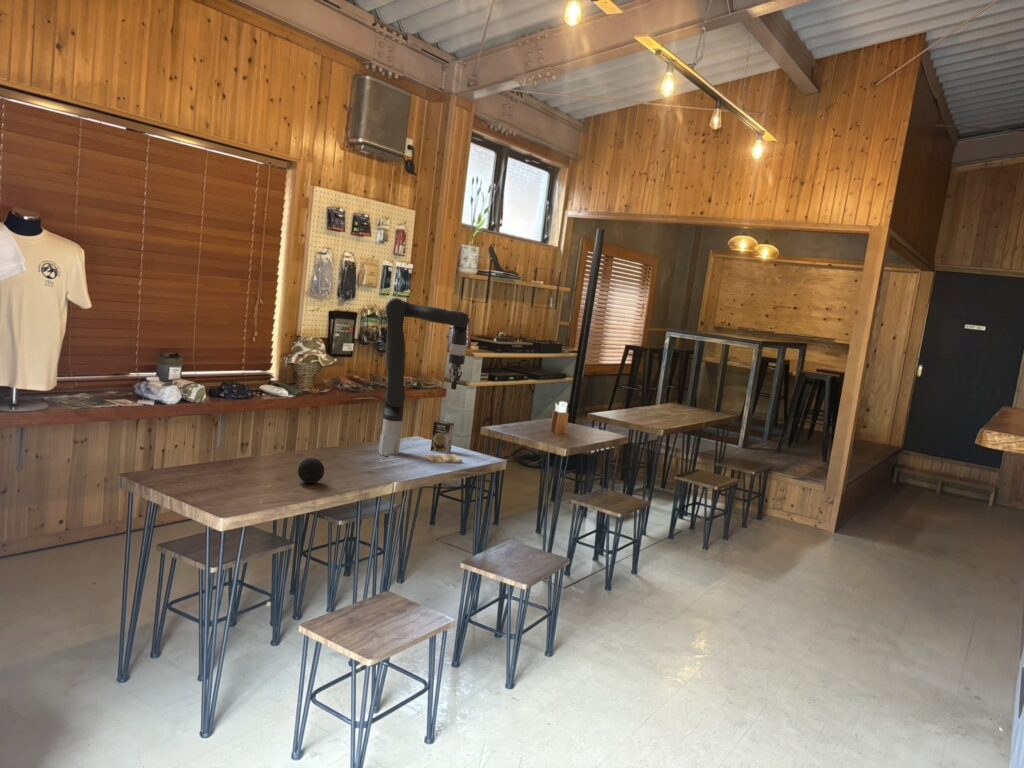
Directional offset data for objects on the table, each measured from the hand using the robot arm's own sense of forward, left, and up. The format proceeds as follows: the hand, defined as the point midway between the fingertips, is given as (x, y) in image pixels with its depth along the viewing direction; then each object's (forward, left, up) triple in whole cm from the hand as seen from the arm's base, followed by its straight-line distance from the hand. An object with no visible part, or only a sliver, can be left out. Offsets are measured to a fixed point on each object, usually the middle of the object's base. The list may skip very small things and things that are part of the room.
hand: (453, 389), depth 351 cm
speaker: (-71, -45, -35) cm, 91 cm away
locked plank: (-8, -5, -34) cm, 35 cm away
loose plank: (0, -5, -34) cm, 34 cm away
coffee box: (+2, +14, -35) cm, 38 cm away
